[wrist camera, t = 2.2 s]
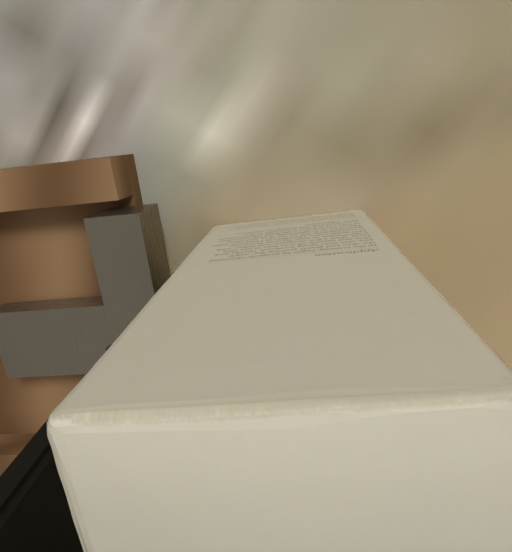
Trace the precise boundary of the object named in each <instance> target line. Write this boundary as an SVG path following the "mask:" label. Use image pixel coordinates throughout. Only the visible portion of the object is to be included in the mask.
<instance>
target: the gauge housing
mask: <svg viewBox="0 0 512 552" xmlns="http://www.w3.org/2000/svg"><path fill="white" fill-rule="evenodd" d="M137 205H143V203H142V198H141V193H140V188H139V182H138V177H137V172H136V167H135V161H134V156H133V154H129V155H120V156H111V157H103V158H94V159H85V160H76V161H67V162H58V163H50V164H41V165H32V166H23V167H14V168H5V169H0V306H1V305H3V304H4V303H10V302H23V301H37V300H51V299H64V298H78V297H91V296H101V292H100V288H99V283H98V279H97V275H96V271H95V266H94V262H93V258H92V254H91V250H90V245H89V241H88V237H87V233H86V228H85V224H84V220H83V219H84V218H86V217H88V216H91V215H93V214H96V213H98V212H100V211H103V210H105V209H108V208H116V207H127V206H137ZM85 375H86V374H81V375H61V376H42V377H23V378H7V375H6V371H5V368H4V365H3V362H2V359H1V356H0V476H1V475H2V474H3V472H4V471H5V470H6V469H7V468H8V466H9V465H10V464H11V463H12V462H13V460H14V459H15V458H16V457H17V456H18V454H19V453H20V452H21V451H22V449H23V448H24V447H25V446H26V445H27V443H28V442H29V441H30V440H31V439H32V437H33V436H34V435H35V434H36V433H37V431H38V430H39V429H40V428H41V427H42V425H43V424H44V423H45V422H46V421H47V419H48V418H49V416H50V414H51V413H52V412H53V411H54V410H55V408H56V407H57V406H58V405H59V404H60V403H61V402H62V401H63V400H64V398H65V397H66V396H67V395H68V394H69V393H70V392H71V391H72V390H73V389H74V387H75V386H76V385H77V384H78V383H79V382H80V381H81V380H82V379H83V377H84V376H85Z"/></svg>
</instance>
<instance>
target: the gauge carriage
mask: <svg viewBox="0 0 512 552" xmlns="http://www.w3.org/2000/svg"><path fill="white" fill-rule="evenodd" d="M83 220H84V224H85V228H86V233H87V237H88V241H89V245H90V250H91V254H92V258H93V262H94V266H95V271H96V275H97V279H98V283H99V288H100V292H101V296H91V297H78V298H64V299H51V300H37V301H23V302H10V303H4V304H3V305H1V306H0V356H1V359H2V362H3V365H4V368H5V371H6V375H7V378H23V377H42V376H61V375H81V374H87V373H88V372H89V371H90V370H91V368H92V367H93V366H94V365H95V363H96V362H97V361H98V360H99V359H100V358H101V357H102V355H103V354H104V353H105V352H106V351H107V350H108V349H109V347H110V346H111V345H112V344H113V343H114V342H115V340H116V339H117V338H118V337H119V336H120V335H121V333H122V332H123V331H124V330H125V329H126V328H127V326H128V325H129V324H130V323H131V322H132V321H133V319H134V318H135V317H136V316H137V315H138V313H139V312H140V311H141V310H142V309H143V308H144V306H145V305H146V304H147V303H148V302H149V300H150V299H151V298H152V297H153V296H154V295H155V294H156V292H157V291H158V290H159V289H160V288H161V287H162V285H163V284H164V283H165V282H166V281H167V280H168V279H169V278H170V271H169V265H168V260H167V254H166V249H165V243H164V237H163V232H162V226H161V221H160V215H159V210H158V204H147V205H137V206H127V207H116V208H108V209H105V210H103V211H100V212H98V213H96V214H93V215H91V216H88V217H86V218H84V219H83Z"/></svg>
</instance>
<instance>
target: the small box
mask: <svg viewBox="0 0 512 552" xmlns="http://www.w3.org/2000/svg"><path fill="white" fill-rule="evenodd" d="M47 437H48V440H49V443H50V445H51V448H52V452H53V455H54V459H55V463H56V467H57V470H58V473H59V476H60V479H61V482H62V485H63V488H64V491H65V494H66V497H67V501H68V504H69V508H70V511H71V515H72V518H73V521H74V524H75V527H76V530H77V533H78V536H79V539H80V542H81V545H82V548H83V551H84V552H512V371H511V370H510V368H509V367H508V366H507V365H506V364H505V363H504V362H503V360H502V359H501V358H500V357H499V356H498V355H497V354H496V353H495V352H494V351H493V350H492V349H491V348H490V347H489V346H488V345H487V344H486V342H485V341H484V340H483V339H482V338H481V337H480V336H479V335H478V334H477V333H476V332H475V331H474V330H473V329H472V327H471V326H470V325H469V324H468V323H467V322H466V321H465V320H464V319H463V318H462V317H461V316H460V314H459V313H458V312H457V311H456V310H455V309H454V308H453V307H452V306H451V305H450V304H449V302H448V301H447V300H446V299H445V298H444V297H443V296H442V295H441V294H440V293H439V292H438V291H437V290H436V289H435V288H434V287H433V285H432V284H431V283H430V282H429V281H428V280H427V279H426V278H425V277H424V276H423V275H422V274H421V273H420V271H419V270H418V269H417V268H416V267H415V266H414V265H413V264H412V263H411V262H410V261H409V260H408V258H407V257H406V256H405V255H404V254H403V253H402V252H401V251H400V250H399V249H398V248H397V247H396V246H395V245H394V243H393V242H392V241H391V240H390V239H389V238H388V237H387V236H386V235H385V234H384V232H383V231H382V230H381V229H380V228H379V227H378V226H377V225H376V224H375V223H374V222H373V221H372V219H371V218H370V217H369V216H368V215H367V214H366V213H365V212H364V211H362V210H354V211H345V212H336V213H327V214H318V215H309V216H300V217H290V218H281V219H272V220H263V221H253V222H244V223H235V224H225V225H217V226H214V227H213V228H212V229H211V230H210V231H209V232H208V233H207V234H206V236H205V237H204V238H203V239H202V240H201V241H200V243H199V244H198V245H197V246H196V247H195V248H194V249H193V250H192V252H191V253H190V254H189V255H188V256H187V257H186V258H185V260H184V261H183V262H182V263H181V264H180V266H179V267H178V268H177V269H176V271H175V272H174V273H173V274H172V275H171V276H170V278H169V279H168V280H167V281H166V282H165V283H164V284H163V285H162V287H161V288H160V289H159V290H158V291H157V292H156V294H155V295H154V296H153V297H152V298H151V299H150V300H149V302H148V303H147V304H146V305H145V306H144V308H143V309H142V310H141V311H140V312H139V313H138V315H137V316H136V317H135V318H134V319H133V321H132V322H131V323H130V324H129V325H128V326H127V328H126V329H125V330H124V331H123V332H122V333H121V335H120V336H119V337H118V338H117V339H116V340H115V342H114V343H113V344H112V345H111V346H110V347H109V349H108V350H107V351H106V352H105V353H104V354H103V355H102V357H101V358H100V359H99V360H98V361H97V362H96V363H95V365H94V366H93V367H92V368H91V370H90V371H89V372H88V373H87V374H86V375H85V376H84V377H83V379H82V380H81V381H80V382H79V383H78V384H77V385H76V386H75V387H74V389H73V390H72V391H71V392H70V393H69V394H68V395H67V396H66V397H65V398H64V400H63V401H62V402H61V403H60V404H59V405H58V406H57V407H56V408H55V410H54V411H53V412H52V413H51V414H50V416H49V418H48V421H47Z"/></svg>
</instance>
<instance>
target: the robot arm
mask: <svg viewBox="0 0 512 552" xmlns="http://www.w3.org/2000/svg"><path fill="white" fill-rule="evenodd" d="M47 421H48V419H47ZM47 421H46V422H45V423H44V424H43V425H42V427H41V428H40V429H39V430H38V431H37V433H36V434H35V435H34V436H33V437H32V439H31V440H30V441H29V442H28V443H27V445H26V446H25V447H24V448H23V449H22V451H21V452H20V453H19V454H18V456H17V457H16V458H15V459H14V460H13V462H12V463H11V464H10V465H9V466H8V468H7V469H6V470H5V471H4V472H3V474H2V475H1V476H0V552H84V551H83V548H82V545H81V542H80V539H79V536H78V533H77V530H76V527H75V524H74V521H73V518H72V515H71V511H70V508H69V504H68V501H67V497H66V494H65V491H64V488H63V485H62V482H61V479H60V476H59V473H58V470H57V467H56V463H55V459H54V455H53V452H52V448H51V445H50V443H49V440H48V437H47Z"/></svg>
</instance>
